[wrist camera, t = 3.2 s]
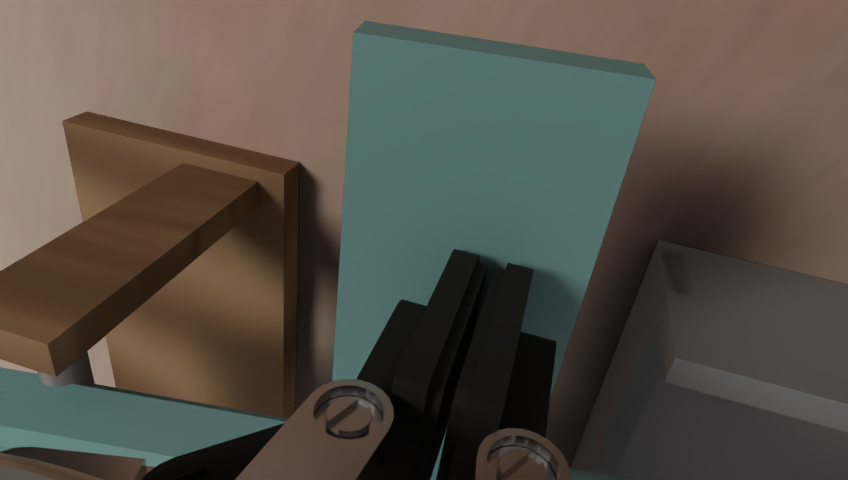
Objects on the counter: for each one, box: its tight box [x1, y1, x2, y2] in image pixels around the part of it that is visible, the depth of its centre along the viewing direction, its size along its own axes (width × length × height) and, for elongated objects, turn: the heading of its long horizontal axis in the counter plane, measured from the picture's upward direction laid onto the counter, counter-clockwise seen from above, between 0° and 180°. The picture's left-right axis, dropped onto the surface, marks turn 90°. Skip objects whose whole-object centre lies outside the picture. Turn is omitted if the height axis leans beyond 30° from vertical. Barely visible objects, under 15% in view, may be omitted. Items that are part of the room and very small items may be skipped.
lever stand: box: [0, 112, 299, 418], centre depth 22 cm, size 15×9×10 cm, turn 172°
